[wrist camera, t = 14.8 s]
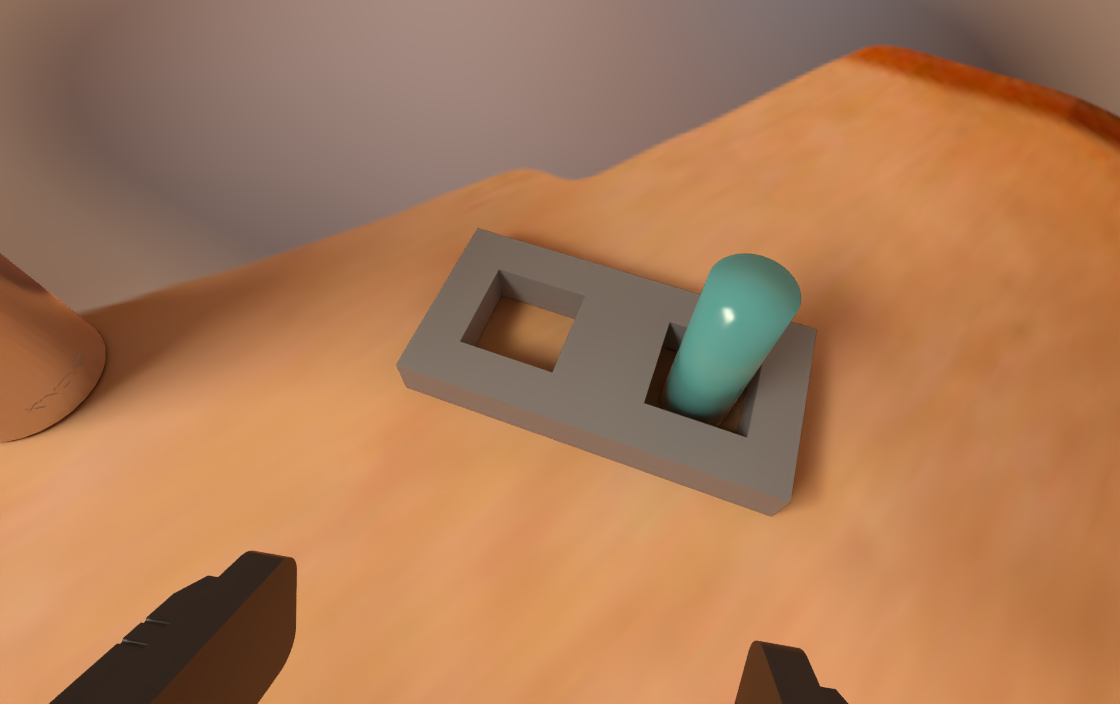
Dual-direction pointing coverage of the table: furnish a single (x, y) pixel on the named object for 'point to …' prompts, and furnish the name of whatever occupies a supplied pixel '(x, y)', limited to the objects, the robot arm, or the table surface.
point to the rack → (608, 372)
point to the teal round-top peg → (729, 335)
